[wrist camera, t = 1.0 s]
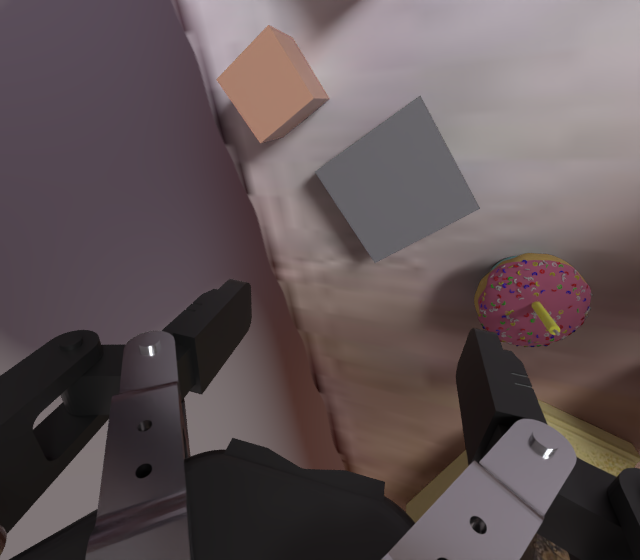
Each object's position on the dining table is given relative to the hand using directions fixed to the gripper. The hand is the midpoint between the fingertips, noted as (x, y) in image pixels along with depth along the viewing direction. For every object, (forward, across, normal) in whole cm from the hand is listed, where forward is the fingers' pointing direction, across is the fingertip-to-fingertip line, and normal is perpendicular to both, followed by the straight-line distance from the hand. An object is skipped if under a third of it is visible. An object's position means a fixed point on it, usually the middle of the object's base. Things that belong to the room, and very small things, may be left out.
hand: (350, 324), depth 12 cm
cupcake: (+23, -13, +7) cm, 27 cm away
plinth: (+22, 0, -1) cm, 22 cm away
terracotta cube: (+22, +10, -7) cm, 26 cm away
